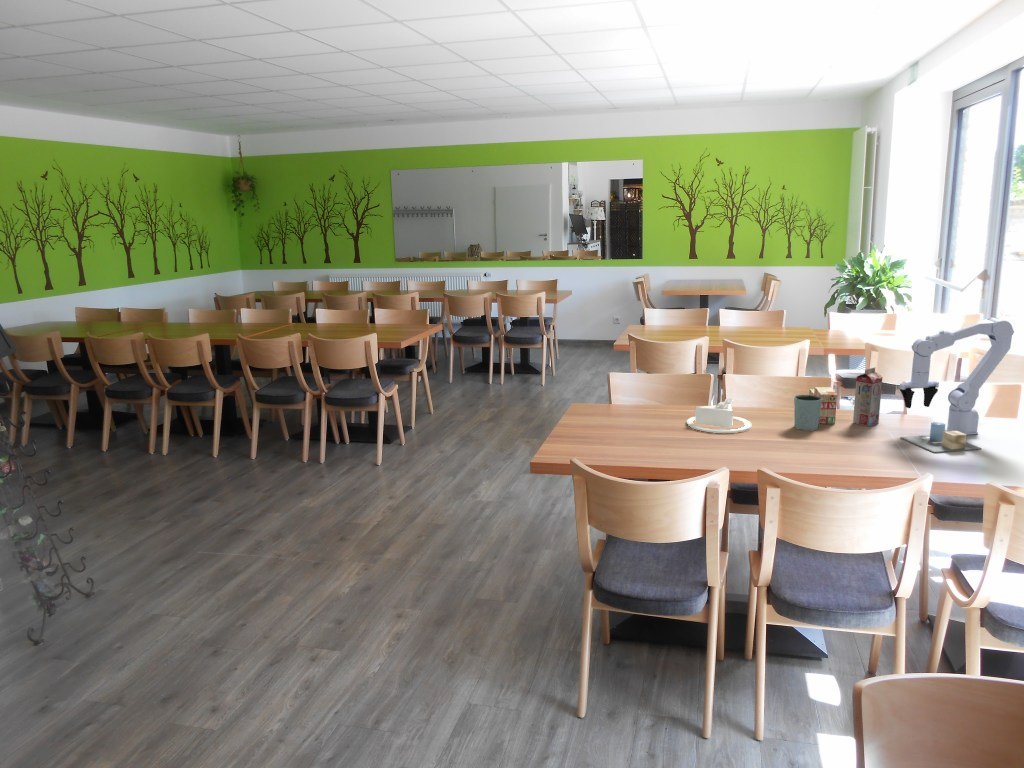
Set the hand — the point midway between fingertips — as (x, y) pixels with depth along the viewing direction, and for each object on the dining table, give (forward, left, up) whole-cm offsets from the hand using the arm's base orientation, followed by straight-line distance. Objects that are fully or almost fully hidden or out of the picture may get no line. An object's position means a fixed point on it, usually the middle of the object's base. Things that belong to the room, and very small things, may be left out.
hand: (917, 407), depth 284 cm
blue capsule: (+1, +13, -9) cm, 16 cm away
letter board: (+2, +16, -9) cm, 19 cm away
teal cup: (+36, -14, -10) cm, 40 cm away
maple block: (+1, +22, -9) cm, 23 cm away
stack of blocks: (+22, -27, -10) cm, 36 cm away
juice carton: (+11, -14, -10) cm, 20 cm away
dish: (+67, -25, -10) cm, 72 cm away
